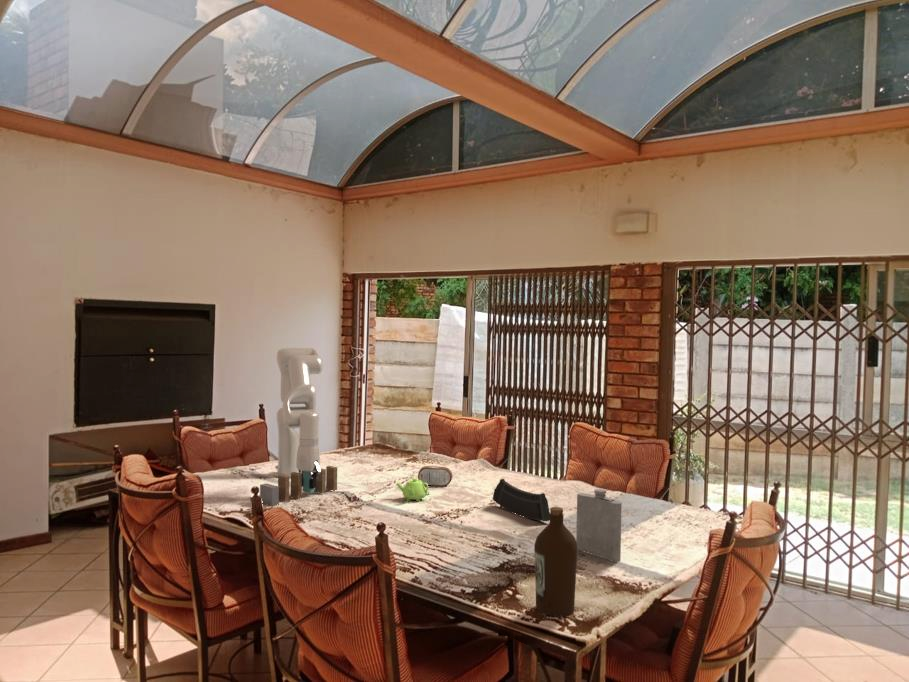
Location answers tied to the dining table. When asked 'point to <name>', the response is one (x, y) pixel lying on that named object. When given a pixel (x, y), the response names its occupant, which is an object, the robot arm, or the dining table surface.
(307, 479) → the domino
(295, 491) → the domino
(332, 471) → the domino
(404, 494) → the teapot
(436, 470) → the tin
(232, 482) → the dining table surface
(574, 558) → the olive oil
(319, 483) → the domino
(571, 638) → the dining table surface
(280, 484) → the domino
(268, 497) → the block
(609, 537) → the hip flask
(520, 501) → the magazine
